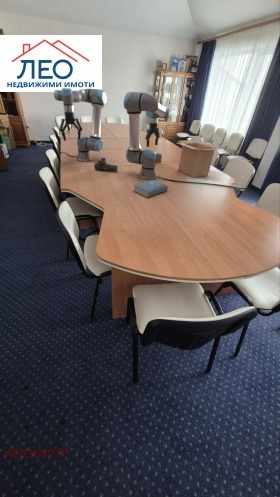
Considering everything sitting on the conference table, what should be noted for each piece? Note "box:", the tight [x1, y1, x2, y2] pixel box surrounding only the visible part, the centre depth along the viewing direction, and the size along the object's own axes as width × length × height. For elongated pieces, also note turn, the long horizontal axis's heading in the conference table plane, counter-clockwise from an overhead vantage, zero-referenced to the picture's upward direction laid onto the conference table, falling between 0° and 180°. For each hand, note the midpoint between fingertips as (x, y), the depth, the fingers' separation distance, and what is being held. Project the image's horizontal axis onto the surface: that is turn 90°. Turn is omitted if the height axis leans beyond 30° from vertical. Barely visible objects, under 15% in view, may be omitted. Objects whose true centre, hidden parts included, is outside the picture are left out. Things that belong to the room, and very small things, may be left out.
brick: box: [155, 152, 163, 164], centre depth 247 cm, size 5×6×9 cm
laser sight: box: [93, 157, 119, 173], centre depth 211 cm, size 10×22×10 cm, turn 78°
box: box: [176, 139, 222, 179], centre depth 217 cm, size 44×36×27 cm
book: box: [133, 179, 169, 198], centre depth 177 cm, size 23×16×5 cm
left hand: (72, 140), depth 192 cm, fingers open, 13 cm apart
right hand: (152, 145), depth 231 cm, fingers open, 13 cm apart
